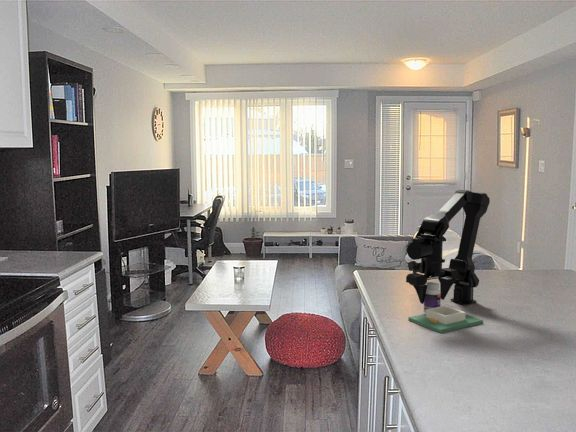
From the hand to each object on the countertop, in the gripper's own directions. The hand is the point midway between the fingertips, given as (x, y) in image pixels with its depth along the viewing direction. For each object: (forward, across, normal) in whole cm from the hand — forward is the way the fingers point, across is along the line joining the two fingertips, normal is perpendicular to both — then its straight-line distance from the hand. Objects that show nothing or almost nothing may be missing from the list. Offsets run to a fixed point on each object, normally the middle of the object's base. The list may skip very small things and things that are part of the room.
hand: (432, 301), depth 182 cm
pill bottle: (+4, 0, 0) cm, 4 cm away
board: (+4, +4, +10) cm, 11 cm away
